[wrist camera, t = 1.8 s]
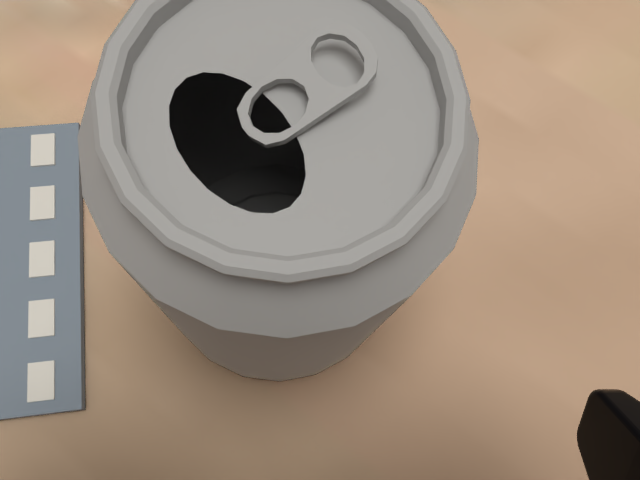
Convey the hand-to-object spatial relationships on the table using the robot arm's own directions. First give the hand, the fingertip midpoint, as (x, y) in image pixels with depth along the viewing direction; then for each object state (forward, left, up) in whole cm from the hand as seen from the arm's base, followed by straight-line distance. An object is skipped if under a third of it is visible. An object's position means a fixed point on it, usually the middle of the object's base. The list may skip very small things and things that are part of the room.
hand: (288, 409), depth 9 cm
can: (+3, +4, -12) cm, 13 cm away
